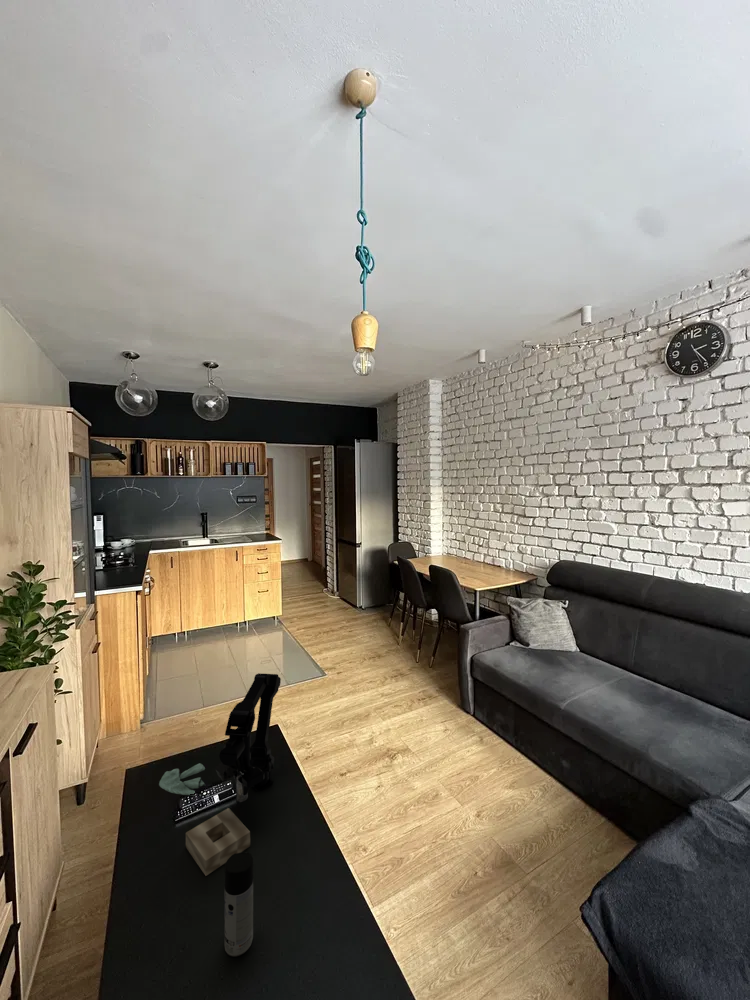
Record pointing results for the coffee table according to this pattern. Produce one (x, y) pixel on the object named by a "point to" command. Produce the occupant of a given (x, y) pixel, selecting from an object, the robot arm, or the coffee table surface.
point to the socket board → (221, 850)
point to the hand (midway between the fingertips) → (242, 791)
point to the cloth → (172, 779)
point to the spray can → (238, 904)
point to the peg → (240, 790)
